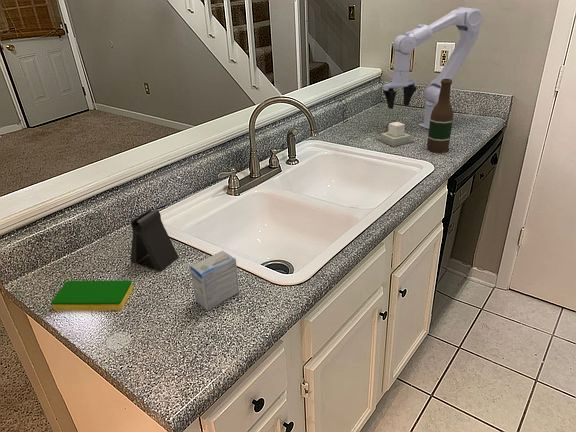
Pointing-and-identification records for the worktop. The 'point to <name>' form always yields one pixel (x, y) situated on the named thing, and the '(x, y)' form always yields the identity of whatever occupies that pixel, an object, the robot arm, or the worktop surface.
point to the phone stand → (151, 242)
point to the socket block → (395, 139)
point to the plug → (396, 129)
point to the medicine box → (215, 279)
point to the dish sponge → (93, 295)
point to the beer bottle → (441, 120)
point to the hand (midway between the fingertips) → (398, 106)
